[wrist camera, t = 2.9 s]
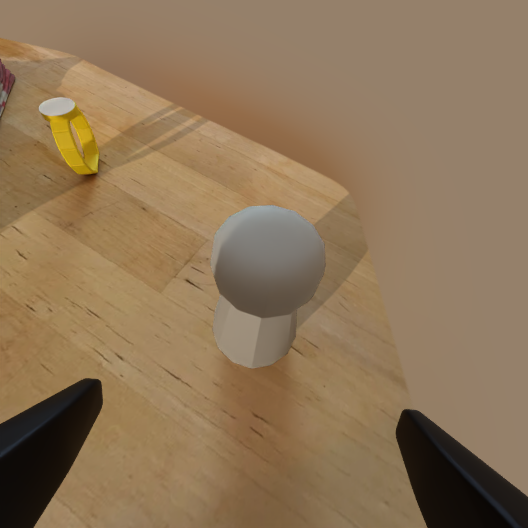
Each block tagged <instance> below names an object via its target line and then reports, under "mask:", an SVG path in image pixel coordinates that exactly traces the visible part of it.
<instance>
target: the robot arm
mask: <svg viewBox="0 0 528 528" xmlns="http://www.w3.org/2000/svg"><path fill="white" fill-rule="evenodd" d="M102 405H103V396H102V384H101V381H100V380H98V379H90V378H85V379H83V380H81V381H79V382H77V383H75V384H73V385H71V386H69V387H68V388H66V389H64V390H62V391H60V392H58V393H57V394H55V395H53V396H51V397H49V398H47V399H46V400H44V401H42V402H40V403H38V404H36V405H35V406H33V407H31V408H29V409H27V410H25V411H24V412H22V413H20V414H18V415H16V416H14V417H12V418H11V419H9V420H7V421H5V422H3V423H1V424H0V528H34V526H35V524H36V523H37V521H38V520H39V518H40V516H41V515H42V513H43V512H44V510H45V509H46V507H47V505H48V504H49V502H50V501H51V499H52V497H53V496H54V494H55V493H56V491H57V489H58V488H59V486H60V485H61V483H62V482H63V480H64V478H65V477H66V475H67V473H68V472H69V470H70V468H71V466H72V465H73V463H74V461H75V459H76V457H77V455H78V453H79V451H80V449H81V447H82V446H83V444H84V442H85V440H86V438H87V436H88V434H89V432H90V430H91V428H92V426H93V424H94V422H95V420H96V419H97V417H98V415H99V413H100V411H101V408H102ZM396 439H397V442H398V445H399V448H400V451H401V454H402V458H403V461H404V464H405V467H406V470H407V473H408V476H409V480H410V483H411V486H412V489H413V492H414V495H415V498H416V500H417V503H418V505H419V508H420V511H421V513H422V515H423V518H424V520H425V523H426V525H427V528H528V497H527V496H526V495H525V494H524V493H522V492H521V491H520V490H519V489H517V488H516V487H515V486H513V485H512V484H511V483H510V482H508V481H507V480H506V479H505V478H503V477H502V476H501V475H499V474H498V473H497V472H496V471H494V470H493V469H492V468H491V467H489V466H488V465H487V464H486V463H484V462H483V461H482V460H481V459H479V458H478V457H477V456H475V455H474V454H473V453H472V452H470V451H469V450H468V449H466V448H465V447H464V446H463V445H461V444H460V443H459V442H458V441H456V440H455V439H454V438H452V437H451V436H450V435H449V434H447V433H446V432H445V431H444V430H442V429H441V428H440V427H439V426H437V425H436V424H435V423H434V422H432V421H431V420H430V419H428V418H427V417H426V416H424V415H423V414H422V413H421V412H419V411H417V410H409V409H405V410H403V411H402V413H401V416H400V419H399V422H398V425H397V428H396Z"/></svg>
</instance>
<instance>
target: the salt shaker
mask: <svg viewBox="0 0 528 528" xmlns="http://www.w3.org/2000/svg"><path fill="white" fill-rule="evenodd" d="M210 266H211V269H212V272H213V275H214V278H215V281H216V284H217V287H218V290H219V292H220V297H219V300H218V303H217V306H216V309H215V315H214V322H213V333H214V336H215V340H216V343H217V346H218V348H219V349H220V350H221V351H222V352H223V353H224V354H225V355H226V356H227V357H228V358H229V359H230V360H231V361H232V362H233V363H236V364H239V365H242V366H245V367H248V368H251V369H252V368H258V367H264V366H270V365H272V364H274V363H275V362H276V361H278V360H279V359H280V358H282V357H283V356H284V355H286V354H287V353H288V351H289V349H290V347H291V345H292V343H293V341H294V339H295V337H296V312H297V309H298V308H299V307H301V306H302V305H304V304H305V303H307V302H308V301H309V300H310V299H311V298H312V297H313V295H314V293H315V291H316V289H317V287H318V285H319V283H320V281H321V279H322V277H323V275H324V270H325V244H324V242H323V241H322V239H321V237H320V236H319V234H318V232H317V231H316V229H315V227H314V226H313V225H312V224H311V223H310V222H308V221H307V220H306V219H304V218H303V217H302V216H300V215H299V214H298V213H296V212H295V211H292V210H288V209H285V208H281V207H277V206H274V205H267V206H251V207H248V208H246V209H244V210H242V211H240V212H237V213H235V214H233V215H231V216H229V217H228V219H227V220H226V221H225V222H224V223H223V225H222V226H221V227H220V228H219V229H218V231H217V232H216V233H215V237H214V243H213V249H212V255H211V261H210Z"/></svg>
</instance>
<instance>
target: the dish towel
mask: <svg viewBox="0 0 528 528" xmlns="http://www.w3.org/2000/svg"><path fill="white" fill-rule="evenodd" d="M14 80H15V76H14V75H13V74H11V73H10V70H8V69H5V65H4V64H2V62H1V59H0V116H1V114H2V112H3V110H4V107H5V103H6V100H7V97H8V95H9V93H10V90H11V86H12V84H13V82H14Z"/></svg>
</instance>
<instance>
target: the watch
mask: <svg viewBox="0 0 528 528" xmlns="http://www.w3.org/2000/svg"><path fill="white" fill-rule="evenodd" d="M39 111H40V113H41V114H42V116H43V117H44V119H45V120H47V121H49V122H50V125H51V130H52V132H53V136H54V139H55V141H56V144H57V146H58V149H59V150H60V153H61V154H62V156H63V157H64V159H65V161H66V162H67V164H68V165H69V166H70V167H71V168H72V169H73V170H74V171H75V172H76V173H78V174H83V175H85V174H94V173H97V172H98V171H97V170H98V161H99V151H98V147H97V143H96V140H95V137H94V135H93V132H92V129H91V128H90V125H89V123H88V121H87V120H86V118H85V116H84V115H83V113H82V112H81V110H80V109H79V108H78V107H77V105H76V103H75V102H74V101H73V100H71V99H69V98H63V97H58V98H52V99H49V100H46V101H44V102H43V103H42V104H41V105H40V106H39ZM70 121H71V123H72V125H73V126H74V128H75V129H76V132H77V134H78V137H79V139H80V142H81V145H82V149H83V153H84V159H83V157H82V155H81V153H80V151H79V150H78V149H77V145H76V142H75V139H74V137H73V134H72V132H71V126H70Z"/></svg>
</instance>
